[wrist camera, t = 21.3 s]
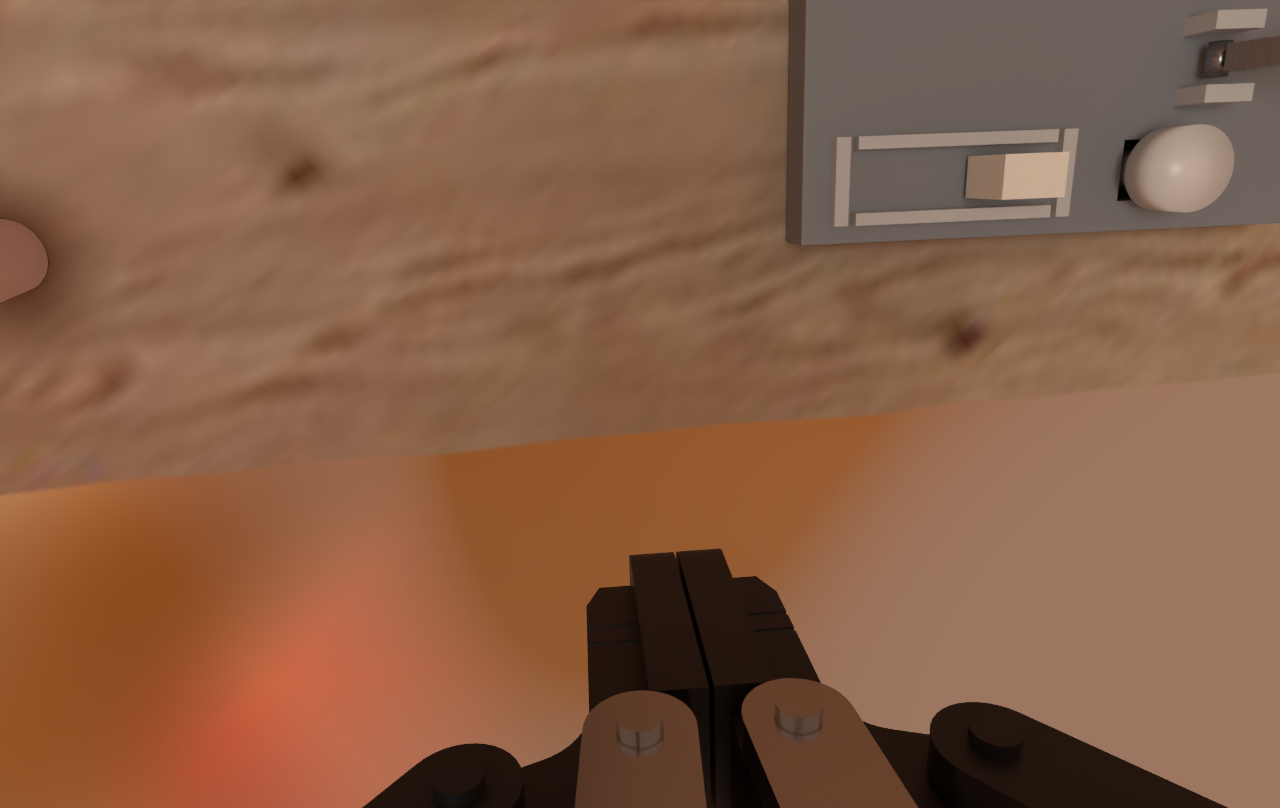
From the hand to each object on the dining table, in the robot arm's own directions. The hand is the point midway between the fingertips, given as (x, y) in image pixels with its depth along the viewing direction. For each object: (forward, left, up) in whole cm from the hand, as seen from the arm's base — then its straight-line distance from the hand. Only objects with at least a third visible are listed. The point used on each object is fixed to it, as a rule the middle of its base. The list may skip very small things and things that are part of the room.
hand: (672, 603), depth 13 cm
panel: (-9, +23, -31) cm, 40 cm away
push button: (-6, +28, -31) cm, 42 cm away
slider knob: (-6, +20, -28) cm, 35 cm away
